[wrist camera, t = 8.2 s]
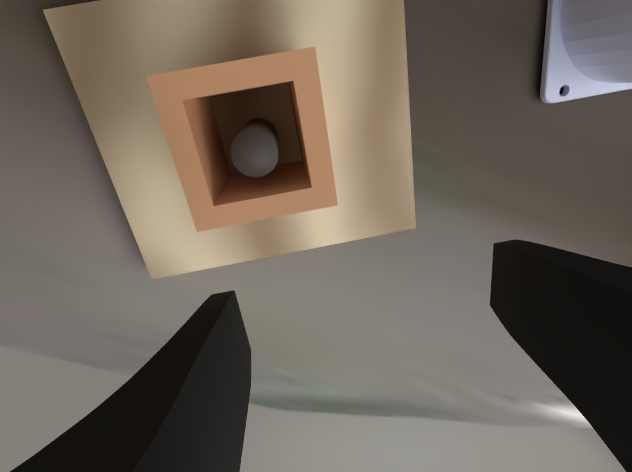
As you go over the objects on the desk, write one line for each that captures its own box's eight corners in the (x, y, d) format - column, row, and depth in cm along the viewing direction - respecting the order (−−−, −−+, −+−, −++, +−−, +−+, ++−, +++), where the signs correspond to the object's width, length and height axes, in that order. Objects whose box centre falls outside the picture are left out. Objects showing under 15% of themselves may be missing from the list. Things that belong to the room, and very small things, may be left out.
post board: (392, -40, 15) (454, -108, 10) (408, 220, 20) (455, 268, 15) (60, 15, 15) (-61, -25, 9) (158, 268, 19) (115, 335, 14)
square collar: (303, 59, 15) (315, 46, 10) (320, 173, 17) (338, 205, 12) (186, 79, 15) (146, 75, 10) (218, 192, 17) (196, 232, 12)
